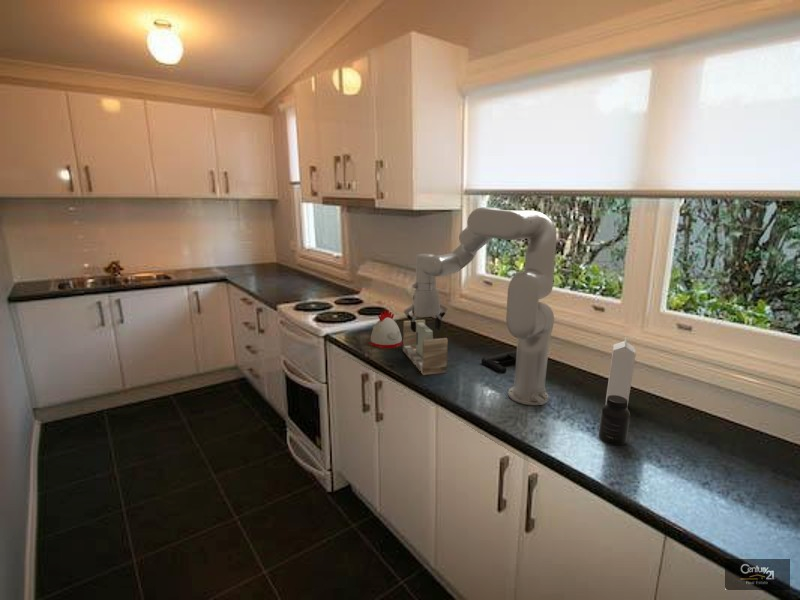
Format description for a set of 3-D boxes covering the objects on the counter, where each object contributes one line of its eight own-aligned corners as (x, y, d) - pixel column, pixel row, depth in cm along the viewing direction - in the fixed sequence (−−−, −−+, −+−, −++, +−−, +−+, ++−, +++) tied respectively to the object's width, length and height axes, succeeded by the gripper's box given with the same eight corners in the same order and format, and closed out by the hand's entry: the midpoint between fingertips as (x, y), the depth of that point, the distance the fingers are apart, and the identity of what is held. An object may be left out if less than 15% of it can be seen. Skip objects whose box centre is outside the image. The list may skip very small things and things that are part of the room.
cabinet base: (446, 372, 157) (447, 339, 154) (423, 374, 154) (424, 341, 151) (423, 348, 181) (424, 319, 178) (403, 350, 179) (403, 320, 176)
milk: (605, 407, 132) (614, 340, 127) (605, 399, 138) (614, 334, 133) (627, 411, 130) (637, 343, 125) (626, 403, 135) (636, 337, 130)
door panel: (431, 363, 162) (432, 331, 159) (424, 364, 161) (425, 332, 158) (421, 353, 173) (422, 322, 170) (414, 353, 172) (415, 323, 169)
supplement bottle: (601, 430, 119) (607, 390, 116) (628, 438, 115) (635, 398, 112) (594, 440, 114) (600, 399, 111) (622, 449, 110) (629, 407, 107)
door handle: (546, 362, 162) (515, 347, 175) (507, 372, 152) (478, 355, 166) (545, 370, 163) (514, 354, 176) (506, 380, 153) (477, 363, 167)
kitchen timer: (364, 342, 188) (364, 309, 185) (388, 336, 197) (388, 304, 194) (383, 350, 178) (383, 316, 175) (408, 344, 187) (408, 311, 183)
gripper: (406, 289, 155) (407, 334, 158) (450, 287, 159) (450, 330, 163) (401, 286, 162) (401, 329, 165) (443, 283, 166) (442, 325, 170)
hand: (425, 330), depth 164 cm, fingers open, 9 cm apart
